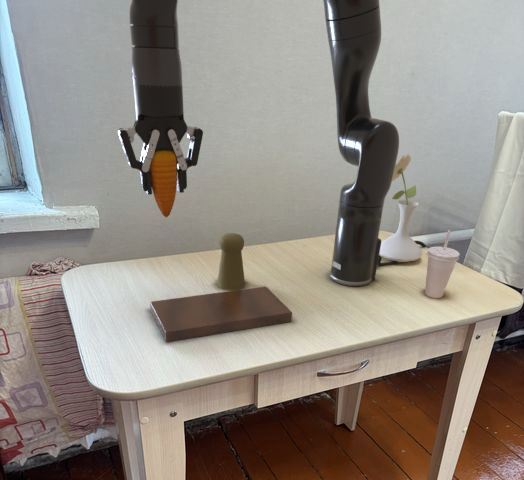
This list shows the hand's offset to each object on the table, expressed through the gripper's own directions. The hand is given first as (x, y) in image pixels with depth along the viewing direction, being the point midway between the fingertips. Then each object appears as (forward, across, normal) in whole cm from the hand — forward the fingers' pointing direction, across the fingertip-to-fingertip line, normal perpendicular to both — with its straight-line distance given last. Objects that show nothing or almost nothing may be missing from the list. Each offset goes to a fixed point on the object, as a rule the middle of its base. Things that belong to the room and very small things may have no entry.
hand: (165, 192), depth 87 cm
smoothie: (+23, +55, -11) cm, 60 cm away
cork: (+22, +14, +7) cm, 27 cm away
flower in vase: (+23, +59, +10) cm, 64 cm away
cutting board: (+22, +8, -7) cm, 24 cm away
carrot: (+5, 0, 0) cm, 5 cm away
